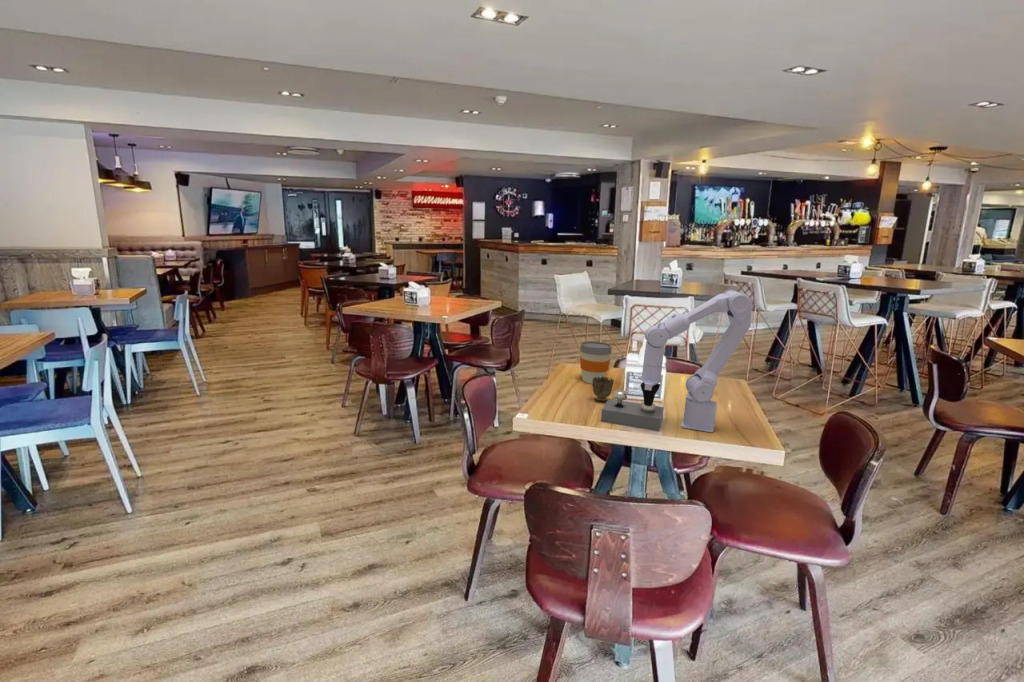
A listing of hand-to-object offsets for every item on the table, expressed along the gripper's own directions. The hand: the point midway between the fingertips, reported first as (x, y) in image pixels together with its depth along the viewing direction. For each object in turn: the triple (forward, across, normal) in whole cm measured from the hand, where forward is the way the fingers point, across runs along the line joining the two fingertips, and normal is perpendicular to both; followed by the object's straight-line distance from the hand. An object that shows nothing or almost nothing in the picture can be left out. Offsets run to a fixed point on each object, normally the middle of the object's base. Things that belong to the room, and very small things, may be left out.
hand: (648, 406), depth 165 cm
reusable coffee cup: (+6, -39, -25) cm, 47 cm away
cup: (+6, -15, -17) cm, 24 cm away
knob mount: (+6, 0, -4) cm, 7 cm away
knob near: (+4, 0, 0) cm, 4 cm away
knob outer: (+2, 0, -9) cm, 9 cm away
